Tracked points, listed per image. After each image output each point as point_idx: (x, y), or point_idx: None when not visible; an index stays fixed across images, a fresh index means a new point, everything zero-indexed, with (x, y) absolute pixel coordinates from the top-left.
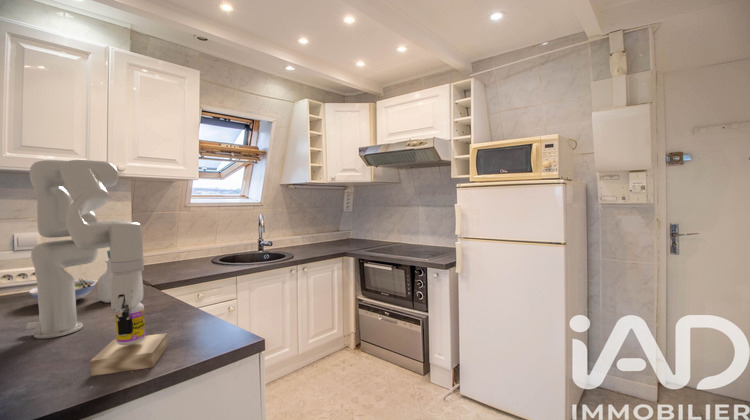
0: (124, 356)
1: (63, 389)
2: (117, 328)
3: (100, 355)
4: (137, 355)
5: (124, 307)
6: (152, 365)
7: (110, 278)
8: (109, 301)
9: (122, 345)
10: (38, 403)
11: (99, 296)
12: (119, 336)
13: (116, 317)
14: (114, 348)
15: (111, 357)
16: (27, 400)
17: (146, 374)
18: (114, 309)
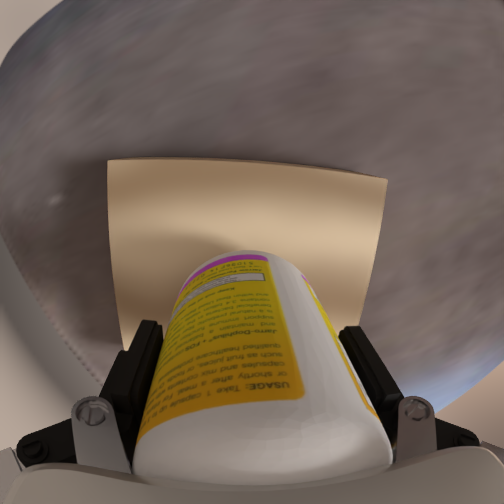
0: (116, 300)
1: (64, 111)
2: (183, 320)
3: (159, 182)
4: (125, 341)
5: None
6: None
7: None
8: None
9: (269, 251)
10: (15, 93)
11: None
12: (179, 301)
13: (175, 386)
14: (239, 222)
15: (116, 248)
16: (43, 47)
17: (100, 339)
18: (86, 476)
